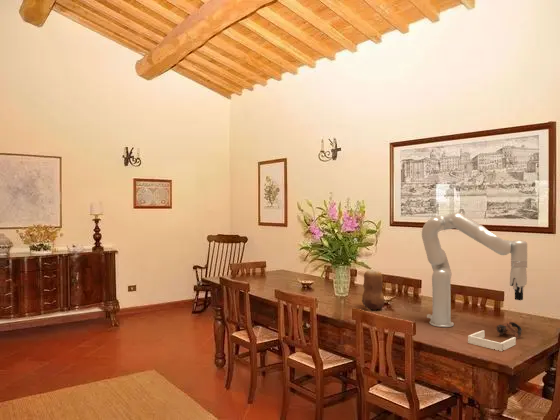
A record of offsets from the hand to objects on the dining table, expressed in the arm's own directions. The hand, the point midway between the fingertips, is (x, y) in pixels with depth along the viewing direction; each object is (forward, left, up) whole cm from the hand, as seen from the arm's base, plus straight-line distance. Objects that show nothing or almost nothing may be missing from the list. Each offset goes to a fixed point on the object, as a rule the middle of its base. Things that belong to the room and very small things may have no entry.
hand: (518, 299), depth 232 cm
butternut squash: (-81, -18, -17) cm, 85 cm away
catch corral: (0, -29, -17) cm, 34 cm away
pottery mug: (0, -11, -17) cm, 21 cm away
